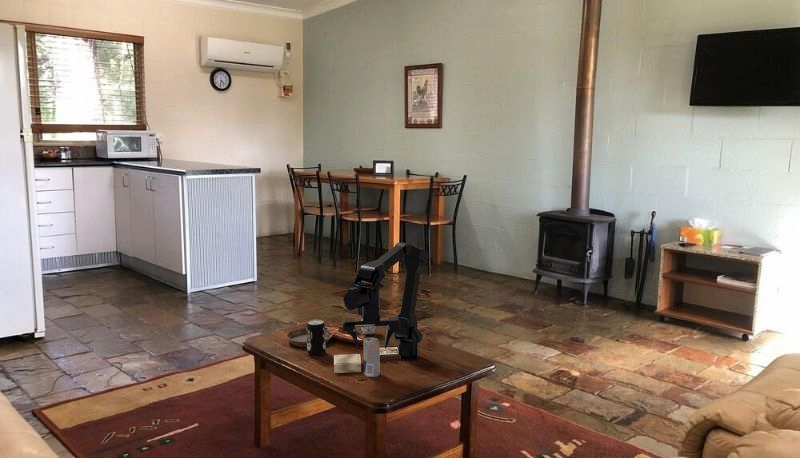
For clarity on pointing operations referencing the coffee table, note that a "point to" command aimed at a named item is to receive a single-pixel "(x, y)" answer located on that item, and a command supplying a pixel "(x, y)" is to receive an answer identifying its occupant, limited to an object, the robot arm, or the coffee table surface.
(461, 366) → the coffee table surface
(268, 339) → the coffee table surface
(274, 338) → the coffee table surface
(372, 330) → the game die
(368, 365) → the energy drink
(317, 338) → the beverage can
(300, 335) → the plant saucer
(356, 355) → the plinth
